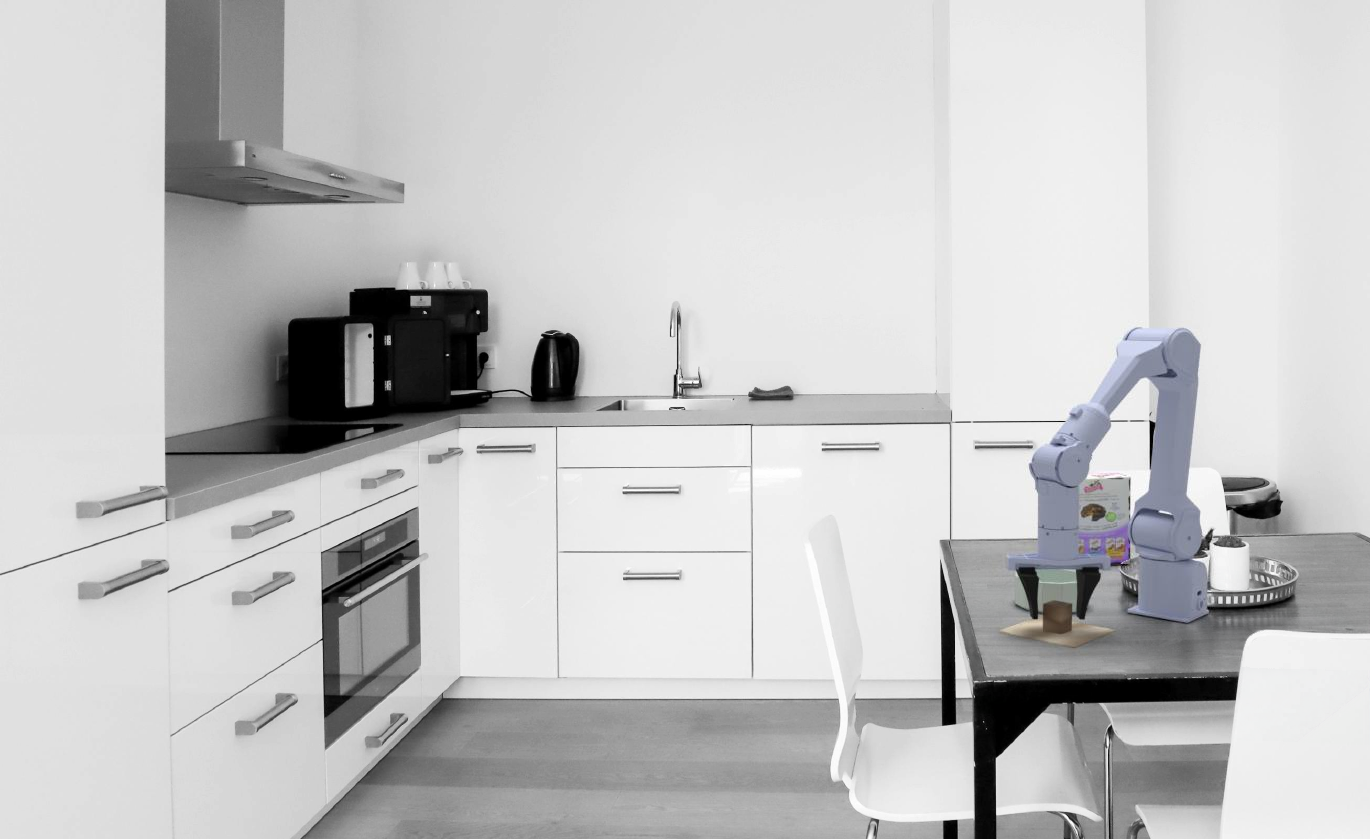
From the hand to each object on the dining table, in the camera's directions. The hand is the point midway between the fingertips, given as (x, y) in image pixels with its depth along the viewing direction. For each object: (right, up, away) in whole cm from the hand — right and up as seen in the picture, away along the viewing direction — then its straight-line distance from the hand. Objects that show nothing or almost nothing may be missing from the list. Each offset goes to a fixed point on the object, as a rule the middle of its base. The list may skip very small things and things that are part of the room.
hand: (1057, 617), depth 172 cm
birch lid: (0, -3, 0) cm, 3 cm away
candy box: (+20, +2, +44) cm, 48 cm away
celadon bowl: (+4, -1, +15) cm, 15 cm away
